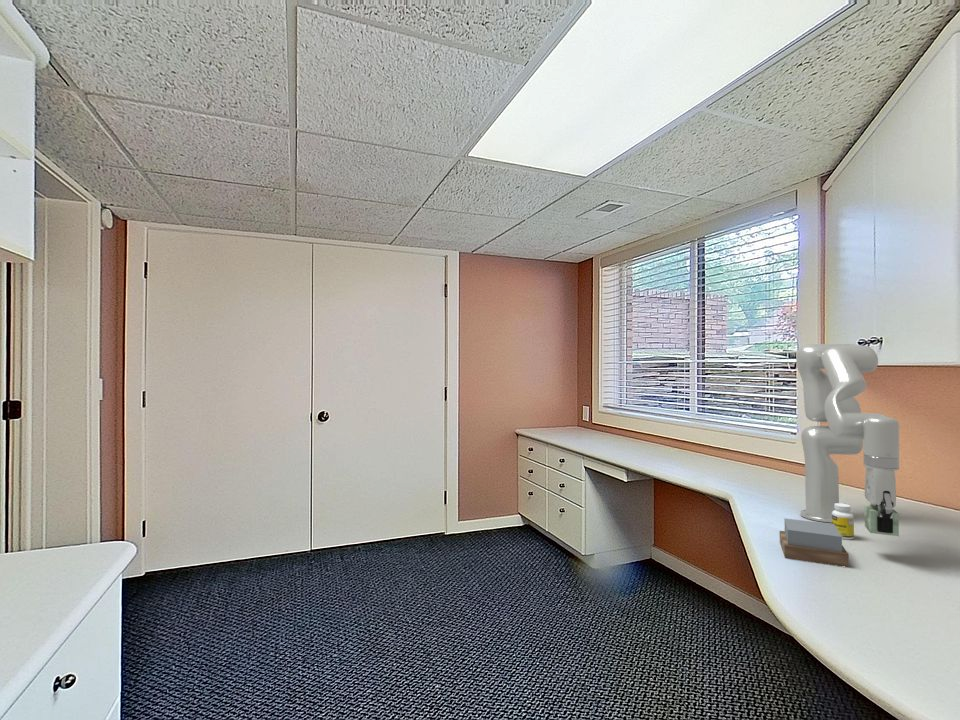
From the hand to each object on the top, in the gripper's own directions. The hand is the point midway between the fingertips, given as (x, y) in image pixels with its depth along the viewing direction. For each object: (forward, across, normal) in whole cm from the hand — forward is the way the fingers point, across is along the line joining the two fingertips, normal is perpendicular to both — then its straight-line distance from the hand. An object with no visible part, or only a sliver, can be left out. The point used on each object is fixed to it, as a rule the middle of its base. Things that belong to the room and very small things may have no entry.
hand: (881, 527), depth 134 cm
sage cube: (+1, 0, 0) cm, 1 cm away
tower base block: (+8, +6, -17) cm, 20 cm away
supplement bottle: (+9, -15, -6) cm, 18 cm away
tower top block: (+4, +6, -17) cm, 18 cm away
